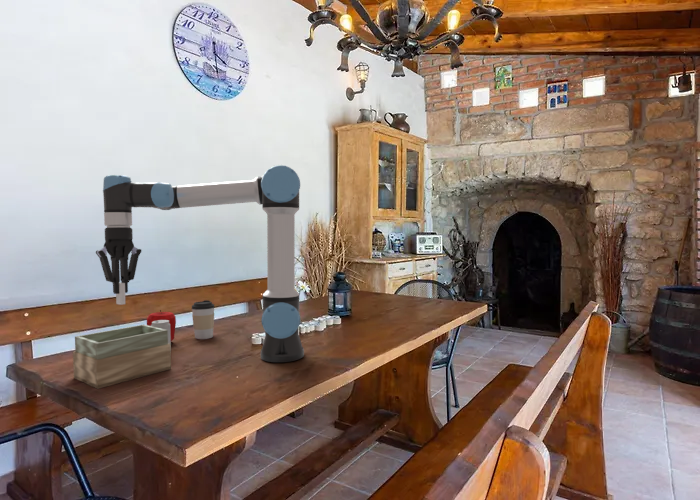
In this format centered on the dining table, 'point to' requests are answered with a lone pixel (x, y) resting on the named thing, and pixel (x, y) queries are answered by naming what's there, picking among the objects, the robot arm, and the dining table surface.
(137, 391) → the dining table surface
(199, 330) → the coffee cup
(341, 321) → the dining table surface
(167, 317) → the red rounded piece
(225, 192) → the robot arm
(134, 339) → the wooden planter box
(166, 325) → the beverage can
